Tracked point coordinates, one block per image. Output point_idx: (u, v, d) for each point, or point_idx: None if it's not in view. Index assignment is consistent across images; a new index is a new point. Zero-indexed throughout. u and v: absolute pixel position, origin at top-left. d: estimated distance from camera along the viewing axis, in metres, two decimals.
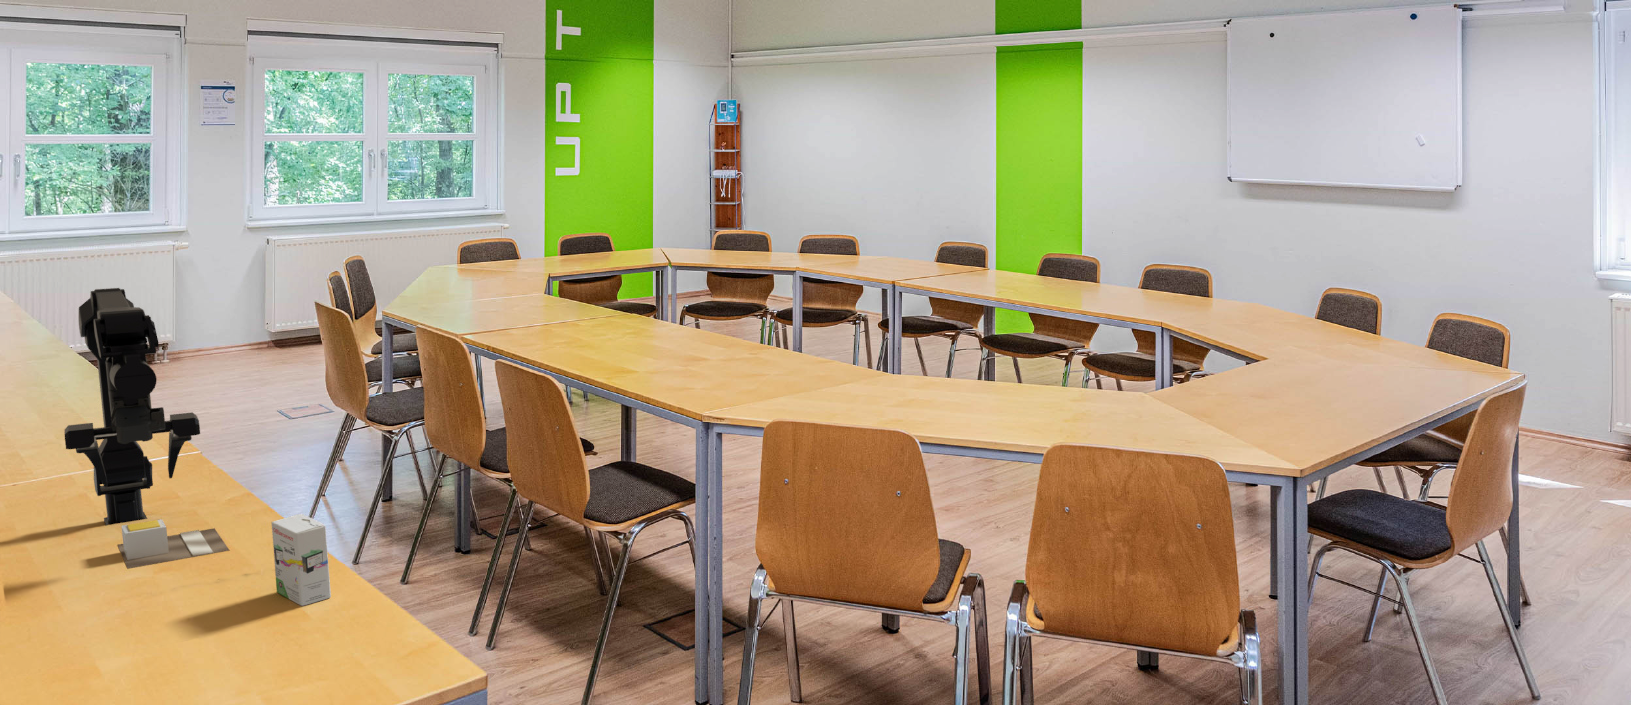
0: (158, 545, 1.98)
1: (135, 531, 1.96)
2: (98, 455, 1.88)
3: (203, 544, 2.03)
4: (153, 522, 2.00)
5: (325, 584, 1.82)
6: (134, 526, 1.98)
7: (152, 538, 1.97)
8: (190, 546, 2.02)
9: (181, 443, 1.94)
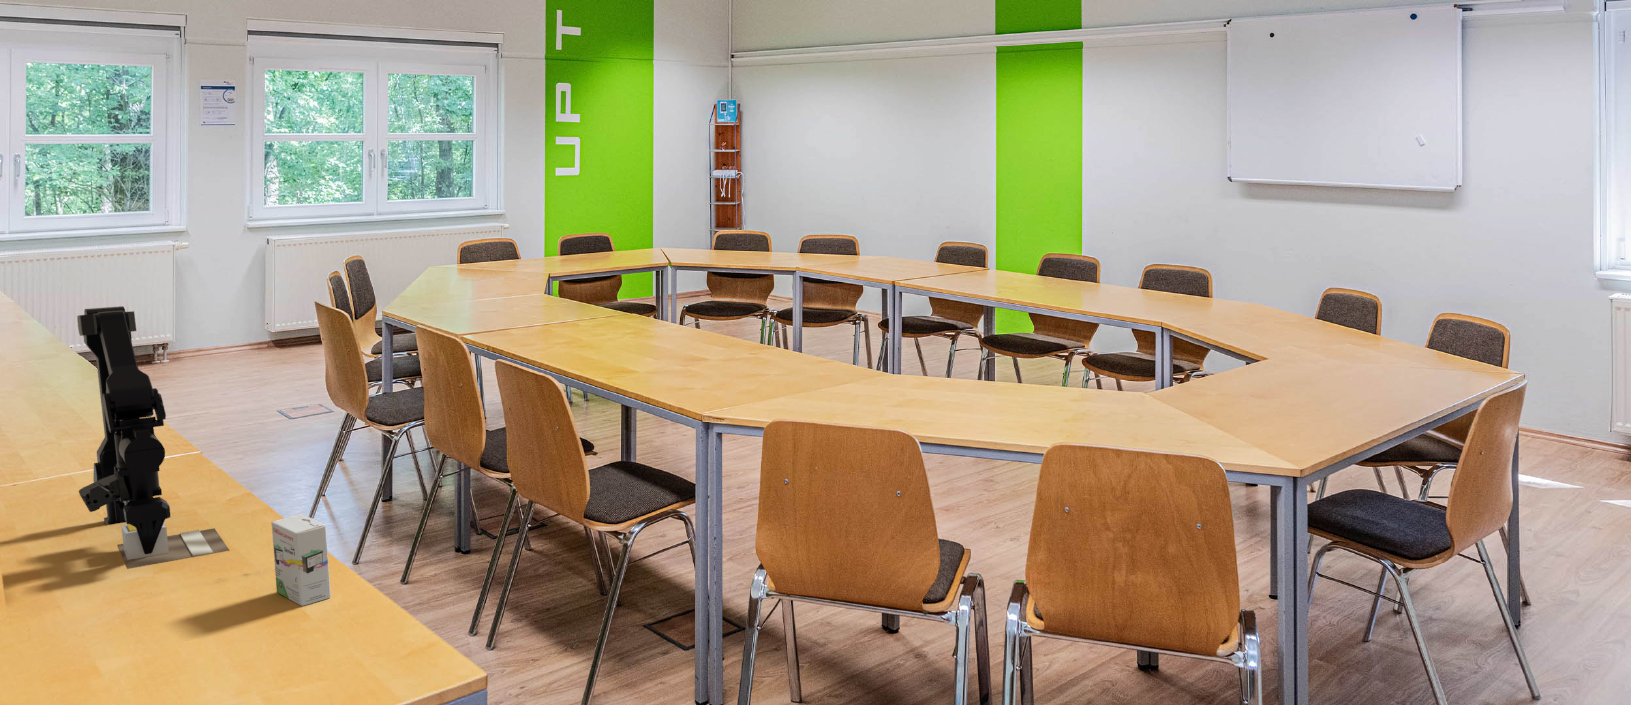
0: (158, 545, 1.98)
1: (135, 531, 1.96)
2: None
3: (203, 544, 2.03)
4: None
5: (325, 584, 1.82)
6: None
7: None
8: (190, 546, 2.02)
9: (130, 523, 1.93)
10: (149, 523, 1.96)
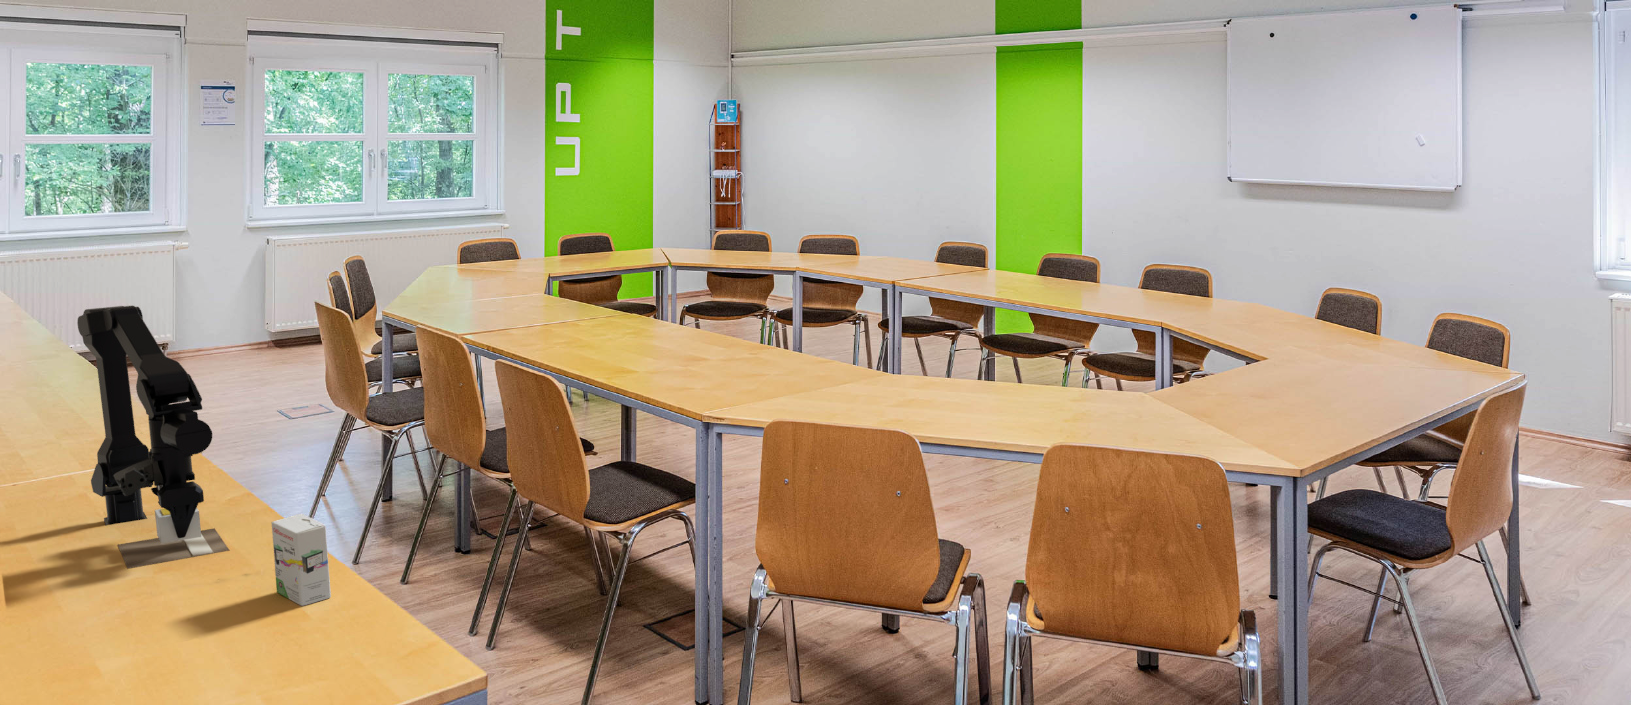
0: (191, 529, 2.01)
1: (168, 515, 1.99)
2: None
3: (203, 544, 2.03)
4: None
5: (325, 584, 1.82)
6: None
7: None
8: (190, 546, 2.02)
9: (164, 507, 1.96)
10: (182, 507, 1.98)
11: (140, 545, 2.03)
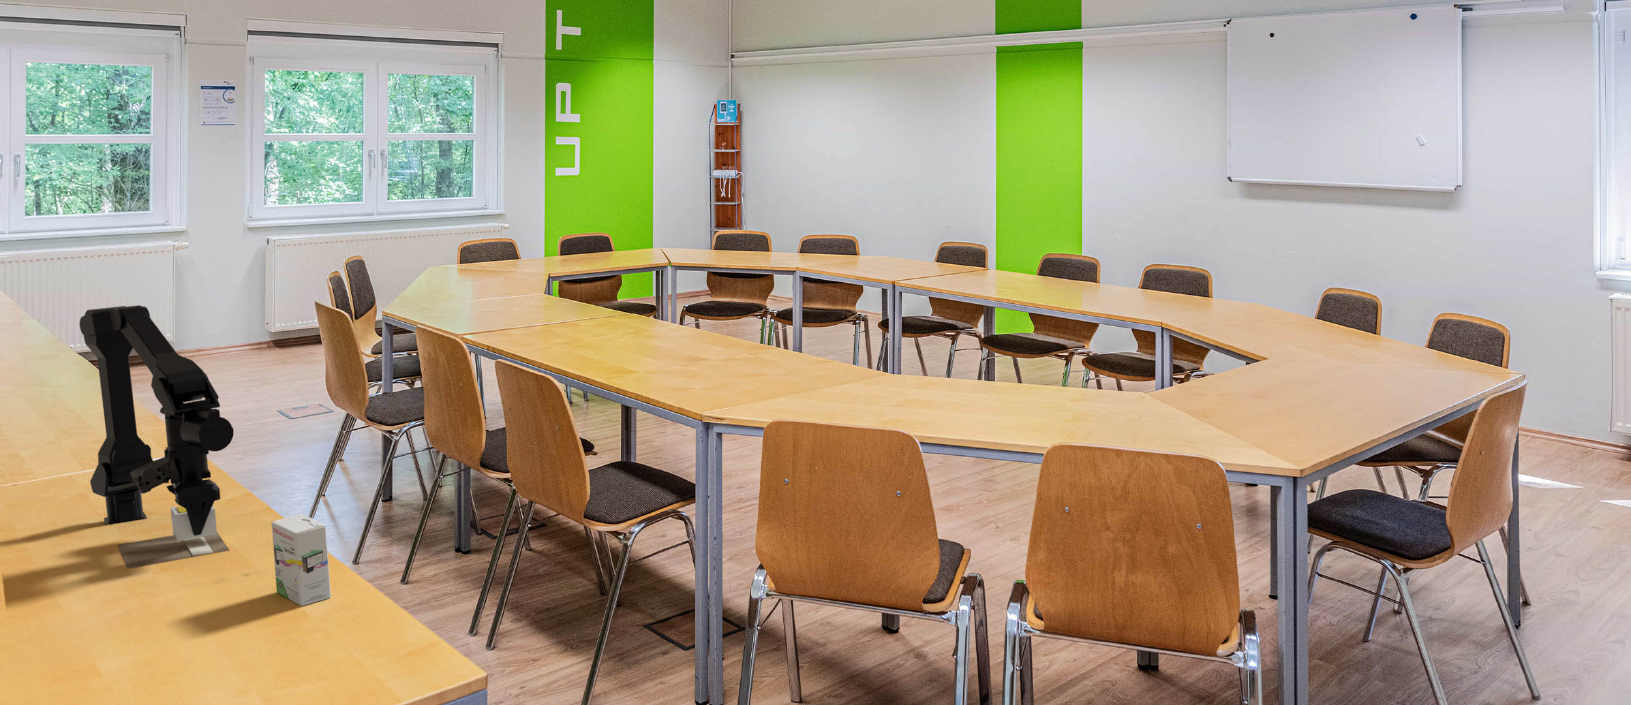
0: (207, 527, 2.02)
1: (185, 513, 2.00)
2: None
3: (203, 544, 2.03)
4: None
5: (325, 584, 1.82)
6: (184, 508, 2.02)
7: None
8: (190, 546, 2.02)
9: None
10: (199, 505, 2.00)
11: (140, 545, 2.03)
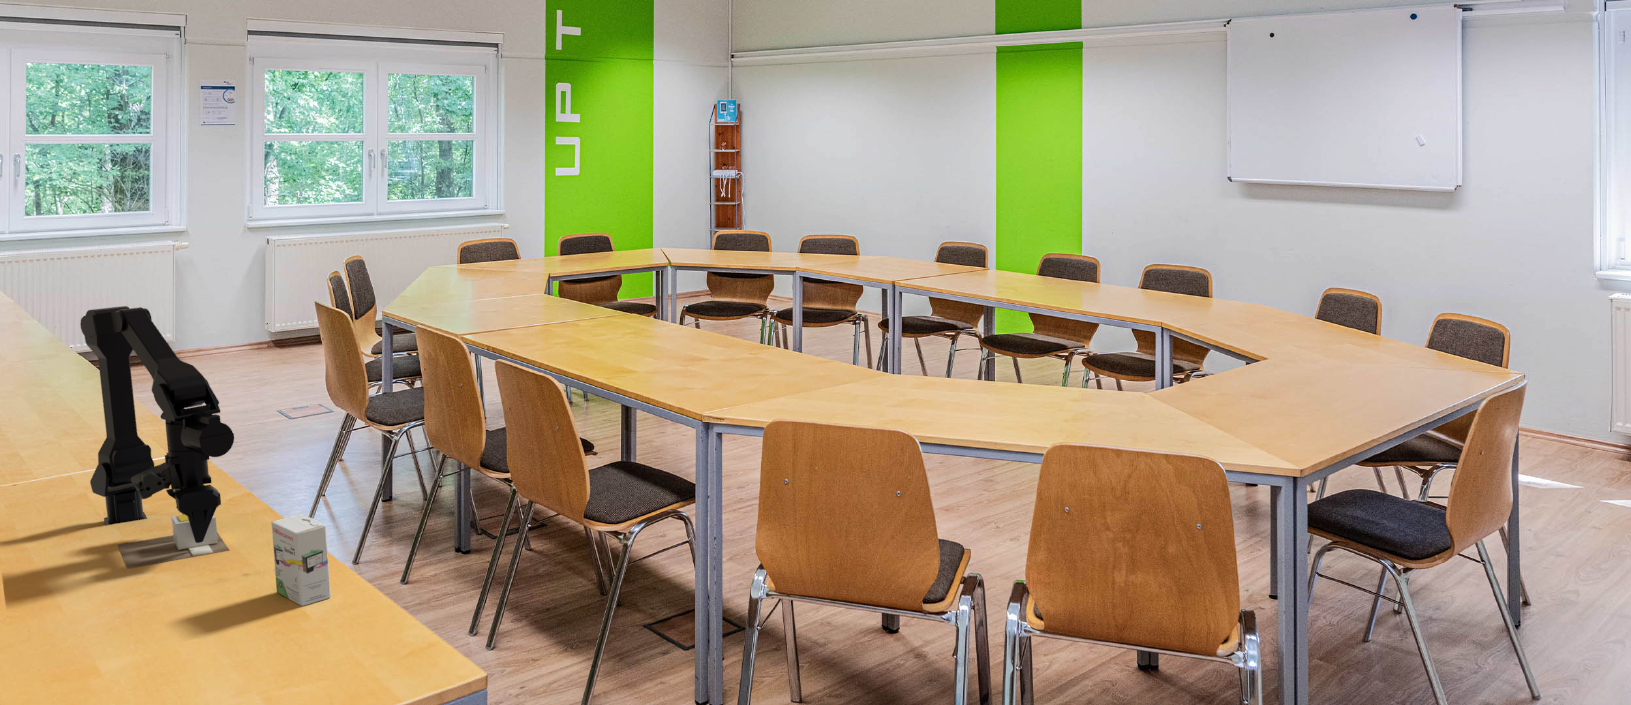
0: (208, 536, 2.02)
1: (186, 521, 2.00)
2: None
3: None
4: None
5: (325, 584, 1.82)
6: (185, 517, 2.02)
7: None
8: None
9: (182, 512, 1.97)
10: (200, 512, 1.99)
11: (140, 545, 2.03)
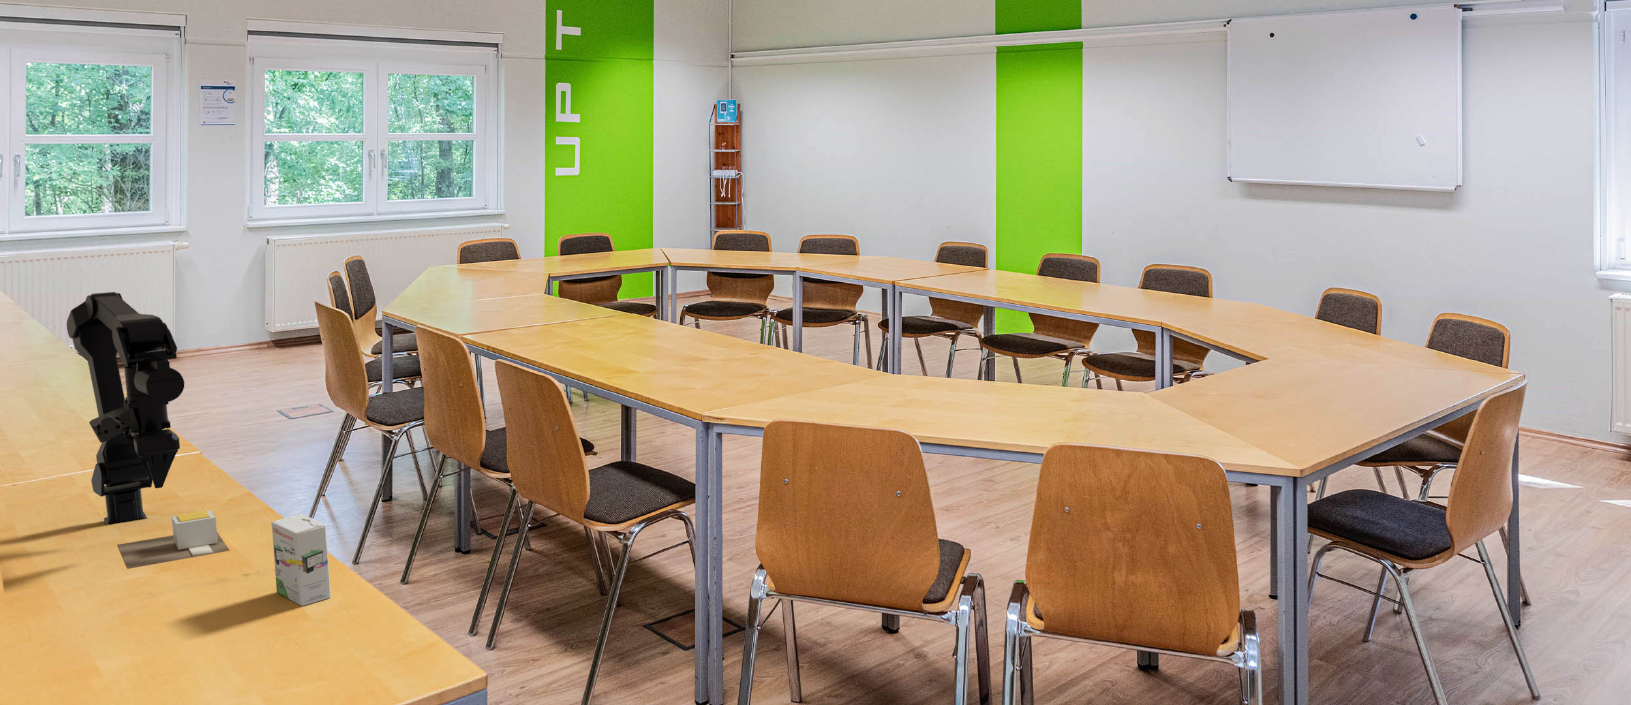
0: (208, 536, 2.02)
1: (186, 521, 2.00)
2: None
3: None
4: (202, 513, 2.04)
5: (325, 584, 1.82)
6: (185, 517, 2.02)
7: (201, 529, 2.02)
8: None
9: (141, 457, 1.96)
10: (160, 457, 1.99)
11: (140, 545, 2.03)
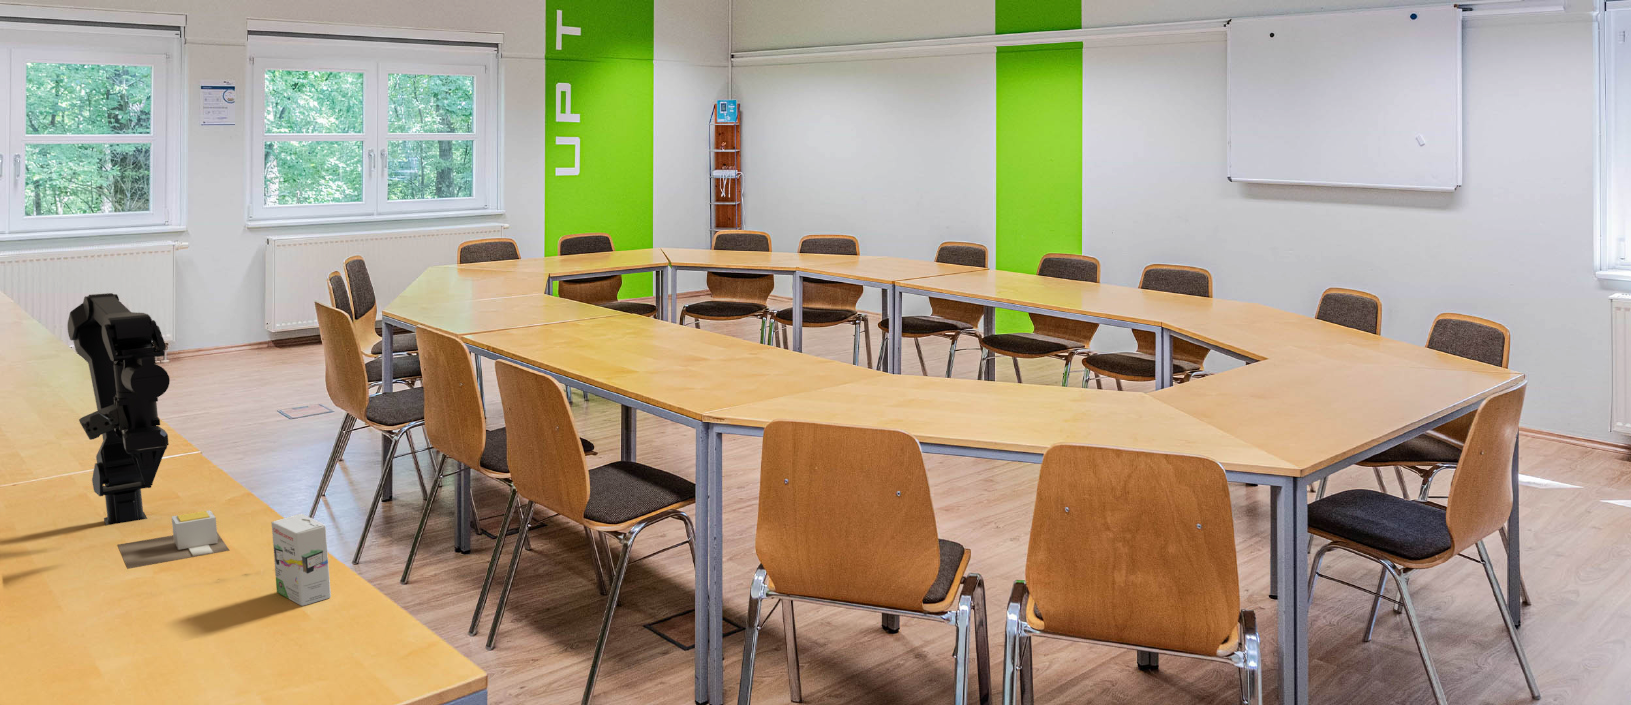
0: (208, 536, 2.02)
1: (186, 521, 2.00)
2: None
3: None
4: (202, 513, 2.04)
5: (325, 584, 1.82)
6: (185, 517, 2.02)
7: (201, 529, 2.02)
8: None
9: (130, 454, 1.96)
10: (149, 454, 1.99)
11: (140, 545, 2.03)
